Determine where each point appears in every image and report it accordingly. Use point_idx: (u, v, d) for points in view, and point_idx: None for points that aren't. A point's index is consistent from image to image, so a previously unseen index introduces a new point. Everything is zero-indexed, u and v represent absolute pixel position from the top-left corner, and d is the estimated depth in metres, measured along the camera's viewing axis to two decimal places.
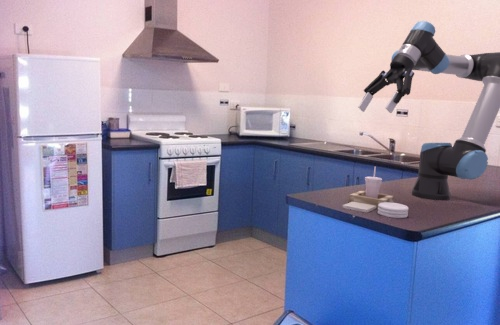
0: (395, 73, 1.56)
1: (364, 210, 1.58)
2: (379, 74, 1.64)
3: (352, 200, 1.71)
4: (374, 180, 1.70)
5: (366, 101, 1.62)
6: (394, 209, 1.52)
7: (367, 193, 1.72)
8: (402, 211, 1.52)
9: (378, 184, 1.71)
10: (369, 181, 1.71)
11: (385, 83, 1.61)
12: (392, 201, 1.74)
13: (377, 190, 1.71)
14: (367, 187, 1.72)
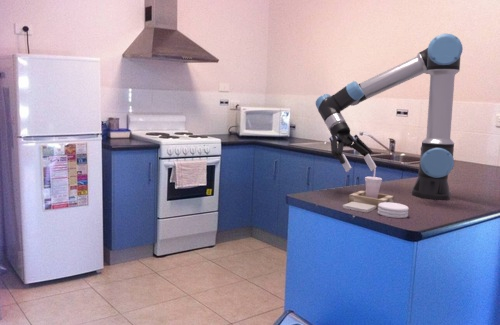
0: None
1: (364, 210, 1.58)
2: None
3: (352, 200, 1.71)
4: (374, 180, 1.70)
5: (369, 162, 1.82)
6: (394, 209, 1.52)
7: (367, 193, 1.72)
8: (402, 211, 1.52)
9: (378, 184, 1.71)
10: (369, 181, 1.71)
11: (354, 145, 1.84)
12: (392, 201, 1.74)
13: (377, 190, 1.71)
14: (367, 187, 1.72)
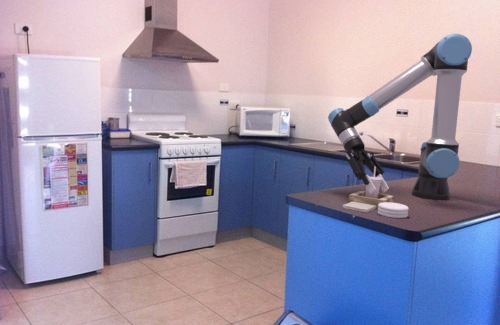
0: None
1: (364, 210, 1.58)
2: None
3: (352, 200, 1.71)
4: (374, 180, 1.70)
5: (381, 183, 1.74)
6: (394, 209, 1.52)
7: (367, 193, 1.72)
8: (402, 211, 1.52)
9: (378, 184, 1.71)
10: None
11: (367, 162, 1.77)
12: (392, 201, 1.74)
13: (377, 190, 1.71)
14: None
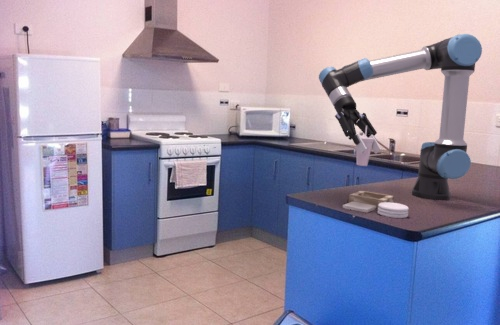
0: None
1: (364, 210, 1.58)
2: None
3: (352, 200, 1.71)
4: (365, 139, 1.58)
5: (372, 143, 1.62)
6: (394, 209, 1.52)
7: (357, 154, 1.61)
8: (402, 211, 1.52)
9: (369, 144, 1.59)
10: None
11: (359, 122, 1.66)
12: (392, 201, 1.74)
13: (368, 151, 1.60)
14: None
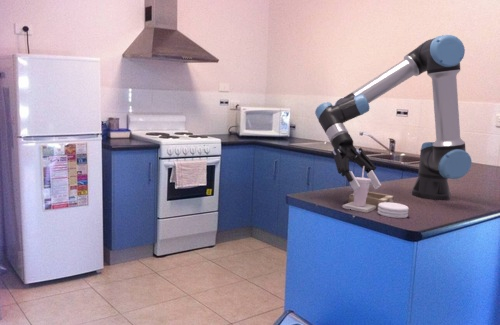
0: None
1: (364, 210, 1.58)
2: None
3: (352, 200, 1.71)
4: (362, 181, 1.59)
5: (372, 179, 1.64)
6: (394, 209, 1.52)
7: (355, 195, 1.62)
8: (402, 211, 1.52)
9: (367, 185, 1.60)
10: None
11: (357, 158, 1.67)
12: (392, 201, 1.74)
13: (366, 191, 1.61)
14: None
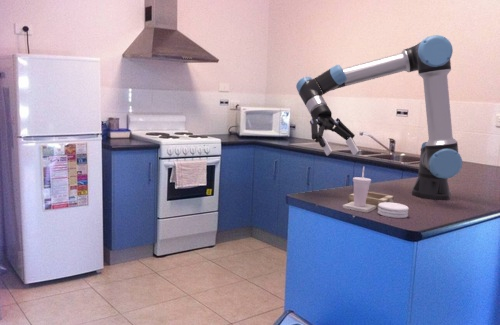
0: None
1: (364, 210, 1.58)
2: None
3: (352, 200, 1.71)
4: (362, 181, 1.59)
5: (351, 146, 1.75)
6: (394, 209, 1.52)
7: (355, 195, 1.62)
8: (402, 211, 1.52)
9: (367, 185, 1.60)
10: (357, 182, 1.60)
11: (336, 128, 1.77)
12: (392, 201, 1.74)
13: (366, 192, 1.61)
14: (355, 188, 1.61)
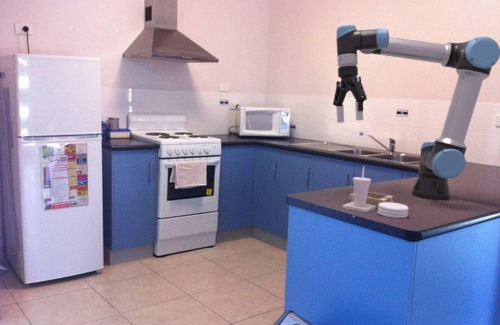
0: (346, 84, 1.76)
1: (364, 210, 1.58)
2: (336, 86, 1.84)
3: (352, 200, 1.71)
4: (362, 181, 1.59)
5: (340, 113, 1.84)
6: (394, 209, 1.52)
7: (355, 195, 1.62)
8: (402, 211, 1.52)
9: (367, 185, 1.60)
10: (357, 182, 1.60)
11: (345, 92, 1.81)
12: (392, 201, 1.74)
13: (366, 192, 1.61)
14: (355, 188, 1.61)
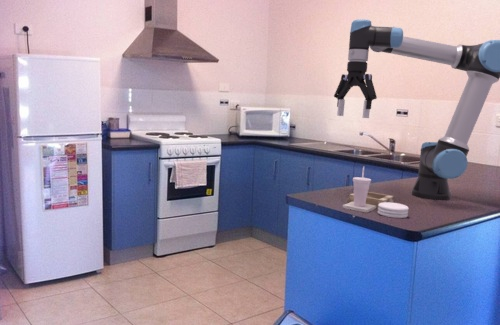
0: (356, 80, 1.75)
1: (364, 210, 1.58)
2: (341, 78, 1.83)
3: (352, 200, 1.71)
4: (362, 181, 1.59)
5: (341, 107, 1.84)
6: (394, 209, 1.52)
7: (355, 195, 1.62)
8: (402, 211, 1.52)
9: (367, 185, 1.60)
10: (357, 182, 1.60)
11: (350, 86, 1.81)
12: (392, 201, 1.74)
13: (366, 192, 1.61)
14: (355, 188, 1.61)
